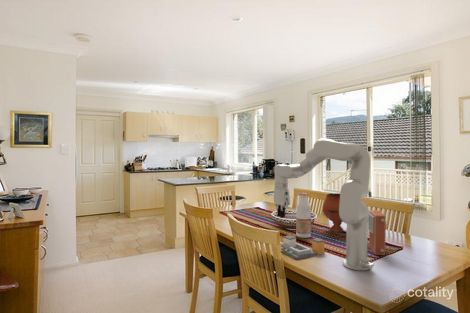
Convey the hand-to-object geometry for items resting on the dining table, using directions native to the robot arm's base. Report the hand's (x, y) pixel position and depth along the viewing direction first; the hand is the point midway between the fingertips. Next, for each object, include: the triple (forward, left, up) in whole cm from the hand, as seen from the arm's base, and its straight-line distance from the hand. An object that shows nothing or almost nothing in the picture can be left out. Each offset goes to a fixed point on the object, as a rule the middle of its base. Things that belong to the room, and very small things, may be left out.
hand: (281, 216), depth 177 cm
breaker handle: (-8, 0, -15) cm, 17 cm away
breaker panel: (-11, 0, -17) cm, 20 cm away
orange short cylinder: (-19, -11, -17) cm, 28 cm away
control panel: (-33, -41, -17) cm, 55 cm away
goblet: (+7, -53, -17) cm, 56 cm away
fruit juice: (+8, -24, -17) cm, 31 cm away
